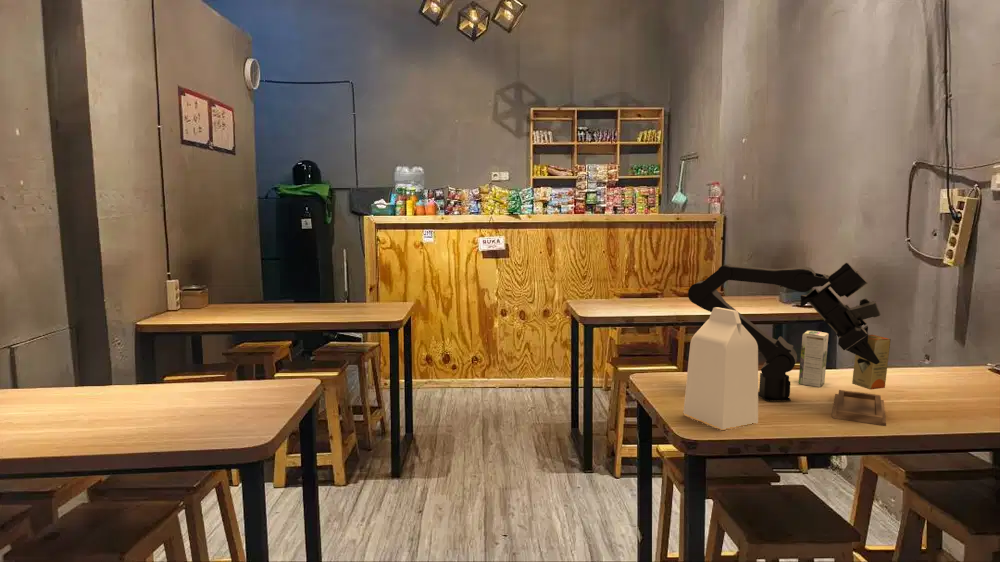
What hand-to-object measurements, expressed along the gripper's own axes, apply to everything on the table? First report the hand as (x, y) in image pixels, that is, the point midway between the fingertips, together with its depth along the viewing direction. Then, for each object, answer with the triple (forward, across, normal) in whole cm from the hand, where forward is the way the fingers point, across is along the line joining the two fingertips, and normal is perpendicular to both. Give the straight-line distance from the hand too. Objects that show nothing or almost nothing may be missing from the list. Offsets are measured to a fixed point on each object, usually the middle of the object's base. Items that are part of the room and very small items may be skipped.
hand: (877, 360), depth 158 cm
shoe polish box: (+4, 0, +6) cm, 7 cm away
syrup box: (-1, +20, +20) cm, 28 cm away
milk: (-12, -24, +32) cm, 42 cm away
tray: (+7, 0, +11) cm, 13 cm away
